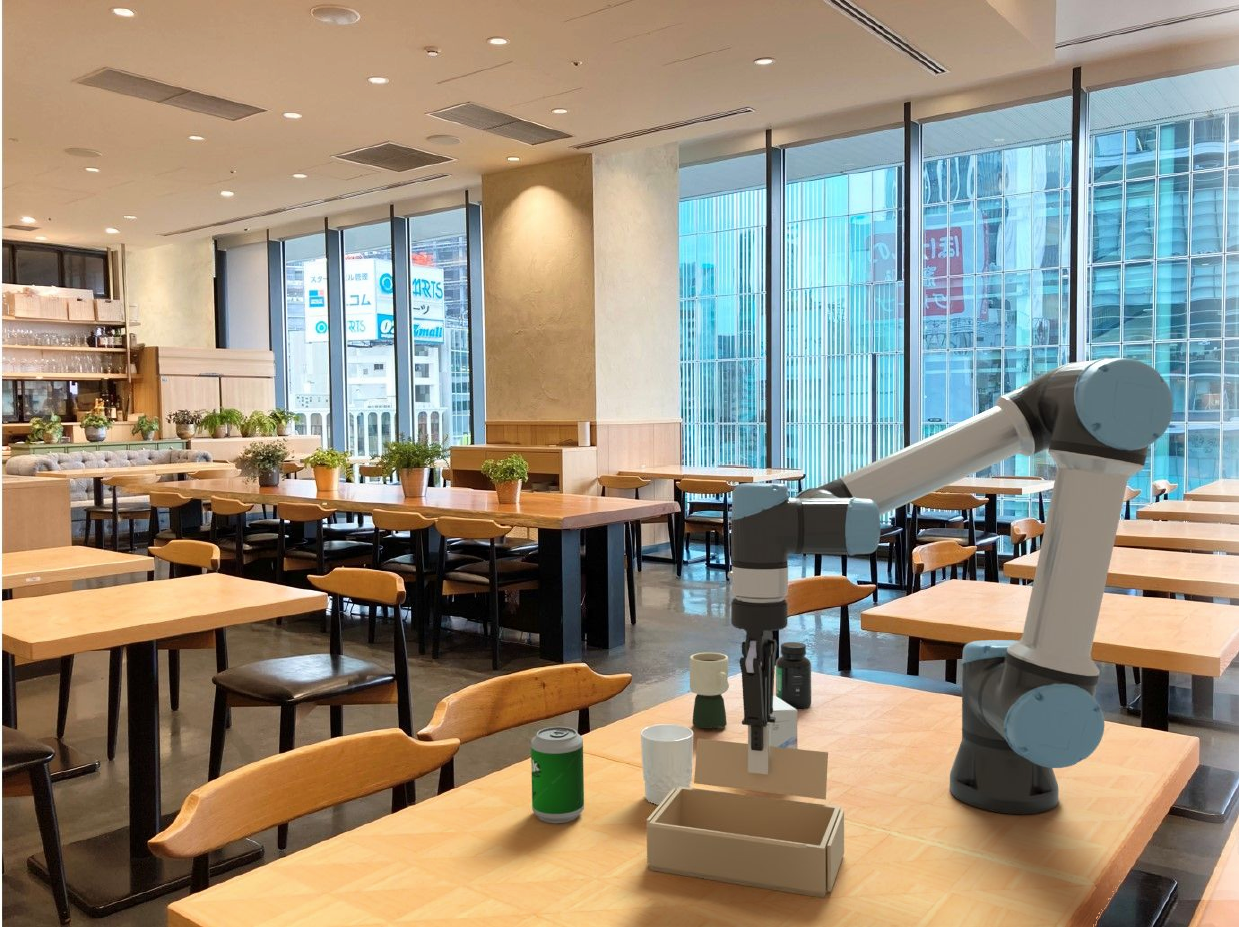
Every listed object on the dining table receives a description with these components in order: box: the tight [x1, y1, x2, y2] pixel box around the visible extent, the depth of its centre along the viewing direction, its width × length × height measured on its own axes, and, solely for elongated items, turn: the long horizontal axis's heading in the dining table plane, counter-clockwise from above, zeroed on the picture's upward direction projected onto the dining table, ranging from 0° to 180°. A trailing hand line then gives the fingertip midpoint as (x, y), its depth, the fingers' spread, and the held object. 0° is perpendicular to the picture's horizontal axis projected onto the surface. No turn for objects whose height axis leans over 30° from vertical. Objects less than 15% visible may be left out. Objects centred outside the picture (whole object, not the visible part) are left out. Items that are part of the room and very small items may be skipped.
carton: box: [646, 787, 845, 899], centre depth 127 cm, size 23×13×6 cm, turn 69°
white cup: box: [640, 723, 694, 806], centre depth 148 cm, size 8×8×10 cm
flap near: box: [646, 822, 806, 848], centre depth 117 cm, size 18×1×6 cm
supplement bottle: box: [775, 641, 812, 710], centre depth 193 cm, size 7×7×12 cm
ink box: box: [767, 695, 799, 749], centre depth 156 cm, size 8×5×12 cm, turn 16°
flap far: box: [693, 738, 829, 801], centre depth 134 cm, size 18×1×6 cm, turn 69°
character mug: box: [689, 652, 730, 729], centre depth 180 cm, size 11×7×13 cm, turn 26°
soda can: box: [530, 726, 585, 824], centre depth 142 cm, size 8×8×12 cm
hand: (758, 771), depth 133 cm, fingers closed
